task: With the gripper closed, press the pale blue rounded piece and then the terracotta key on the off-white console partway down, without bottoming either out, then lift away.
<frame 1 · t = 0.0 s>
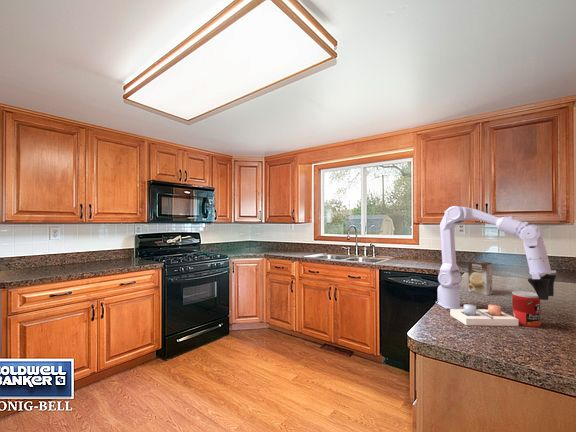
hand: (546, 297, 98), 11 cm above the worktop, tool pointing down, fingers open, 7 cm apart
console: (482, 320, 106), on the worktop
pale blue rounded piece: (469, 310, 106), point 4 cm above the worktop, slide at 0.0 cm
key terracotta: (494, 310, 105), point 4 cm above the worktop, slide at 0.0 cm
coffee box: (480, 293, 146), on the worktop
canned food: (526, 324, 102), on the worktop
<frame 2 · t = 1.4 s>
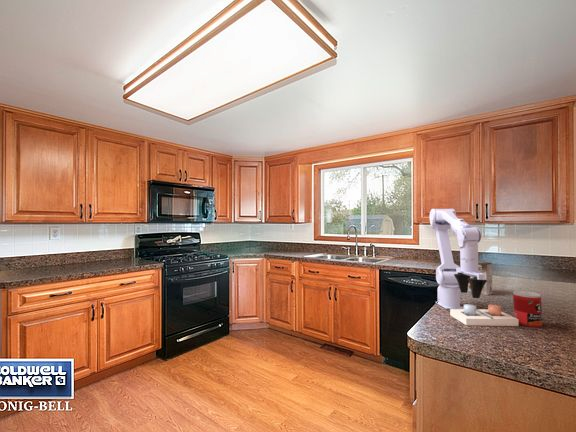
hand: (469, 295, 106), 9 cm above the worktop, tool pointing down, fingers open, 7 cm apart
nothing on the worktop moved.
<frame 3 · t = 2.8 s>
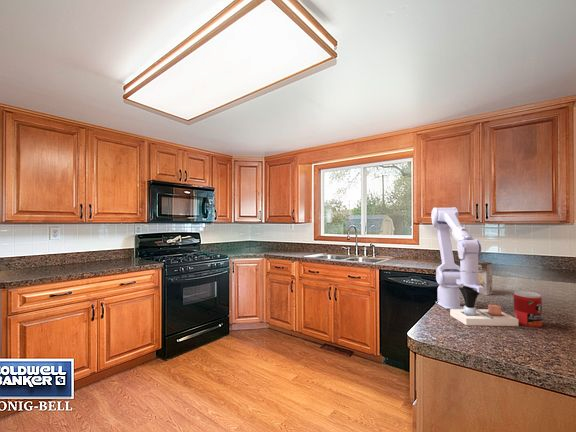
hand: (469, 307, 106), 5 cm above the worktop, tool pointing down, fingers closed, pressing on pale blue rounded piece
pale blue rounded piece: (470, 311, 106), point 3 cm above the worktop, slide at 0.5 cm, touching gripper
everything else where it was.
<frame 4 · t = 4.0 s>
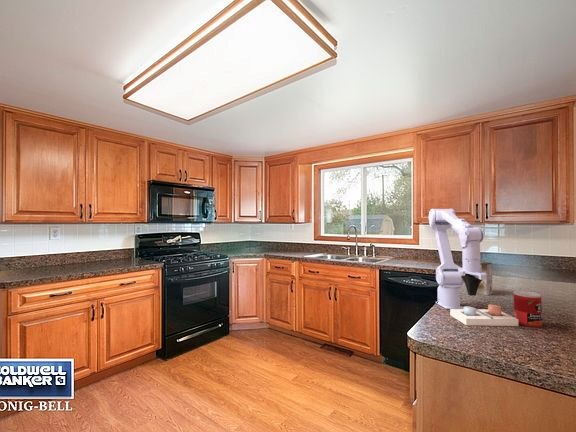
hand: (471, 295, 106), 9 cm above the worktop, tool pointing down, fingers closed
pale blue rounded piece: (470, 312, 106), point 3 cm above the worktop, slide at 0.8 cm
everything else where it was.
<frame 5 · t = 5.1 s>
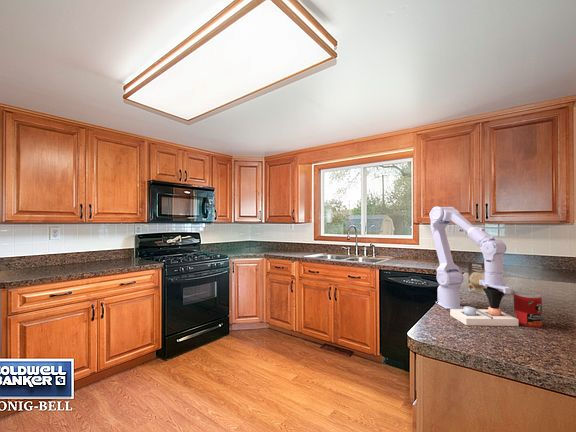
hand: (494, 308, 105), 5 cm above the worktop, tool pointing down, fingers closed, pressing on key terracotta
key terracotta: (494, 312, 105), point 3 cm above the worktop, slide at 0.8 cm, touching gripper
everything else where it was.
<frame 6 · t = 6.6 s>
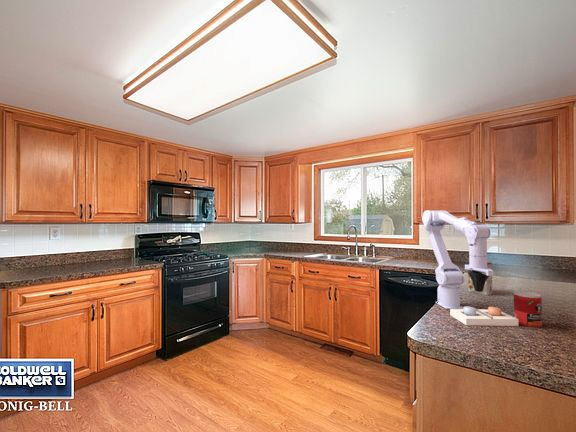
hand: (478, 291, 108), 10 cm above the worktop, tool pointing down, fingers closed
key terracotta: (494, 312, 105), point 3 cm above the worktop, slide at 0.8 cm
everything else where it was.
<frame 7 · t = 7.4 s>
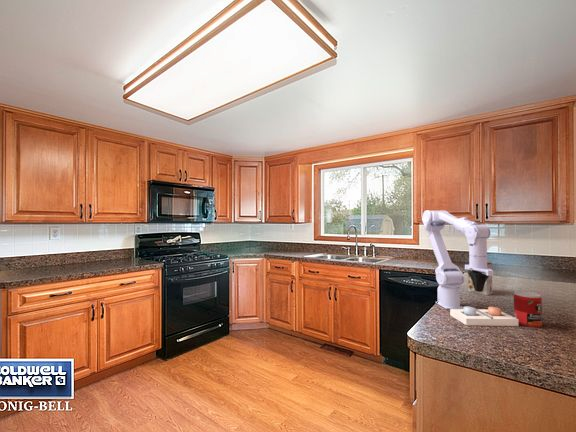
hand: (478, 291, 108), 10 cm above the worktop, tool pointing down, fingers closed
nothing on the worktop moved.
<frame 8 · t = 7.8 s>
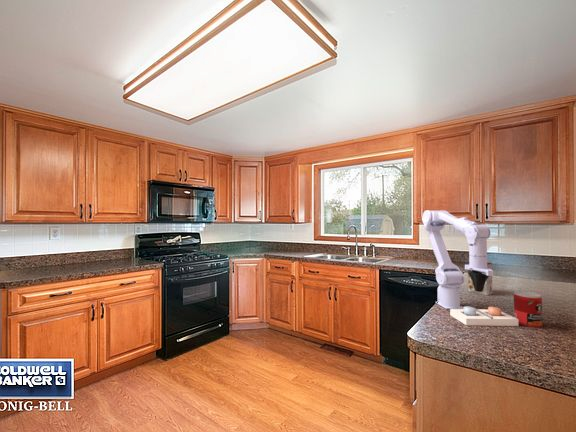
hand: (478, 291, 108), 10 cm above the worktop, tool pointing down, fingers closed
nothing on the worktop moved.
at the end: pale blue rounded piece slide at 0.8 cm; key terracotta slide at 0.8 cm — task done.
